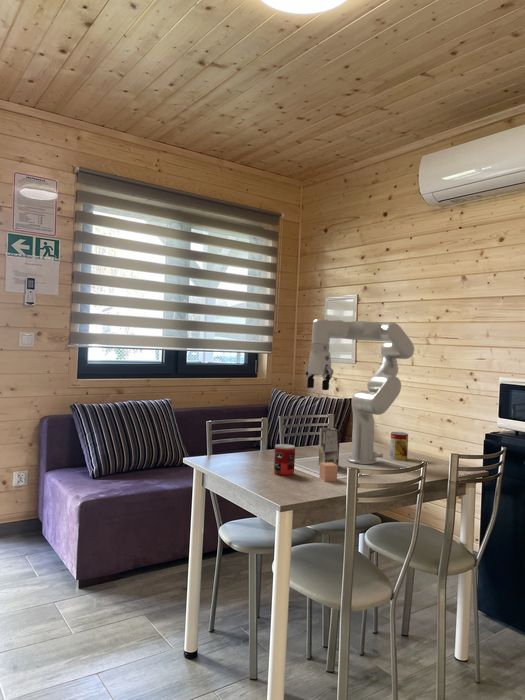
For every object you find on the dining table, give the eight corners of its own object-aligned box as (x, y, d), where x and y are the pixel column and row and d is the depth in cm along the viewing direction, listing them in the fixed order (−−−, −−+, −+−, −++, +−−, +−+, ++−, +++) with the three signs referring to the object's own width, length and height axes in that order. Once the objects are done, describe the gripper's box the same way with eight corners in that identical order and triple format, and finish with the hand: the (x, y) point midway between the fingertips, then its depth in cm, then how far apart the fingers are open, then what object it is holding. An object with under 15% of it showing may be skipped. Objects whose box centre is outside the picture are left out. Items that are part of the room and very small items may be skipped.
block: (331, 477, 203) (332, 462, 203) (336, 481, 198) (337, 465, 198) (319, 478, 201) (320, 462, 201) (324, 481, 196) (325, 465, 196)
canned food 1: (272, 471, 209) (273, 443, 209) (292, 471, 210) (293, 444, 210) (274, 475, 202) (276, 447, 202) (295, 476, 202) (296, 447, 202)
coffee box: (338, 469, 217) (340, 430, 217) (323, 469, 216) (325, 430, 216) (332, 464, 226) (334, 427, 226) (318, 464, 225) (319, 427, 225)
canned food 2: (410, 460, 242) (411, 434, 242) (396, 460, 240) (397, 434, 240) (400, 456, 250) (401, 431, 250) (386, 457, 247) (387, 431, 247)
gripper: (340, 349, 216) (338, 390, 216) (313, 348, 230) (311, 387, 230) (327, 348, 212) (324, 390, 212) (300, 347, 226) (298, 387, 226)
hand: (317, 388), depth 221 cm, fingers open, 9 cm apart
